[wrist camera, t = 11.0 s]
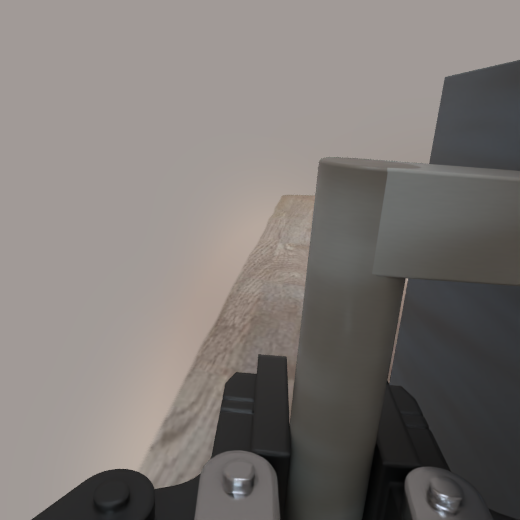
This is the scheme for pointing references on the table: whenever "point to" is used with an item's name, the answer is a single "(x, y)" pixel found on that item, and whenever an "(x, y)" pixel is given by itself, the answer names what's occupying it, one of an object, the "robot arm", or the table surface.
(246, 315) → the table surface
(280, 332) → the table surface
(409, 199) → the door
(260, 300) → the table surface
